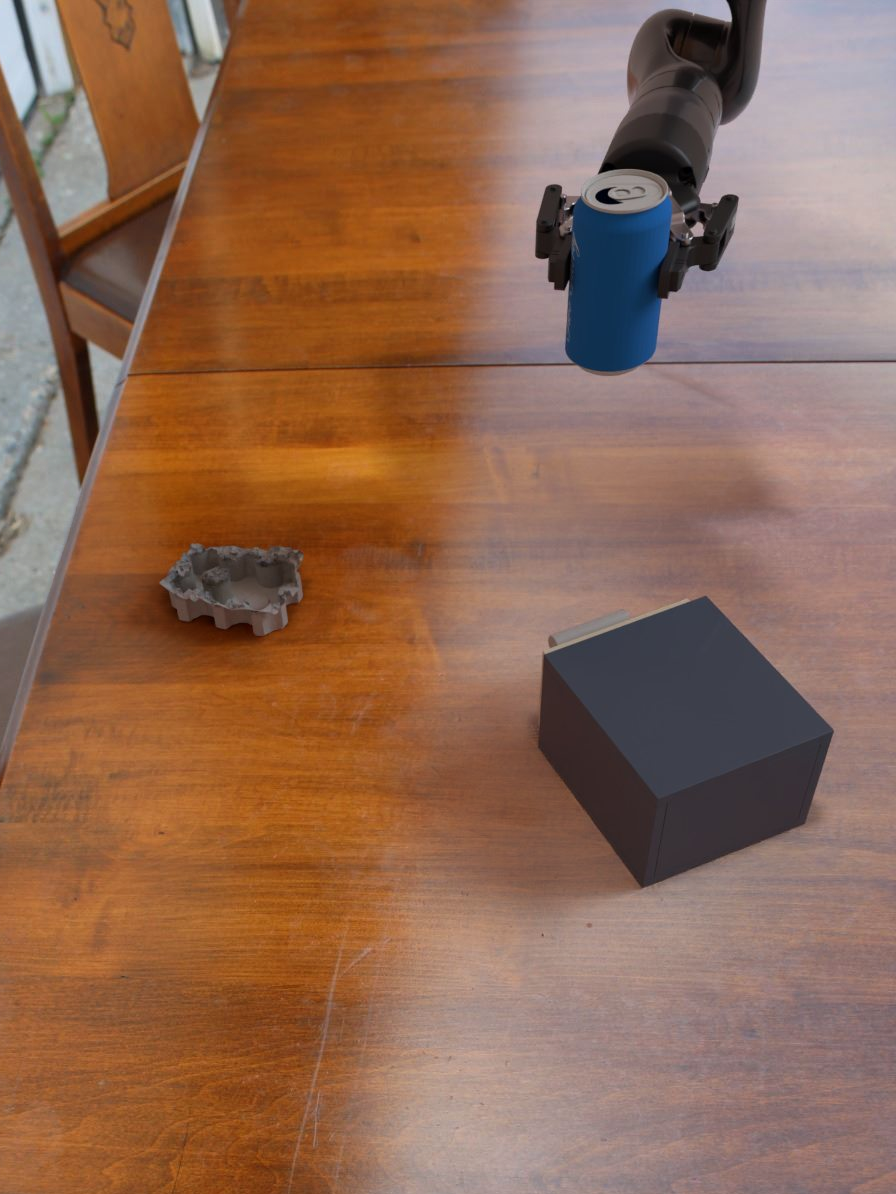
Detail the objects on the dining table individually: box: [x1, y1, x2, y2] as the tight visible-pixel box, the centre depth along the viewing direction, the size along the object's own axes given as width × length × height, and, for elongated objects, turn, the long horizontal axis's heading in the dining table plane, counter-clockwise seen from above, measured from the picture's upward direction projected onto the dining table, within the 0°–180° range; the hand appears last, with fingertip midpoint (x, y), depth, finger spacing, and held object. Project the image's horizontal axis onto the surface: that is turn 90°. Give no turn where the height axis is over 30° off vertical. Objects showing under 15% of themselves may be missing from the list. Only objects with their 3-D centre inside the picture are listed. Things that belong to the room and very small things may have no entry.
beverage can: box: [564, 169, 672, 377], centre depth 92 cm, size 6×6×12 cm
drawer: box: [537, 598, 690, 727], centre depth 92 cm, size 17×11×7 cm, turn 22°
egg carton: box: [159, 542, 305, 637], centre depth 109 cm, size 11×8×4 cm
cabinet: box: [537, 595, 835, 889], centre depth 90 cm, size 15×13×9 cm
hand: (611, 281), depth 90 cm, fingers closed on beverage can, 6 cm apart
